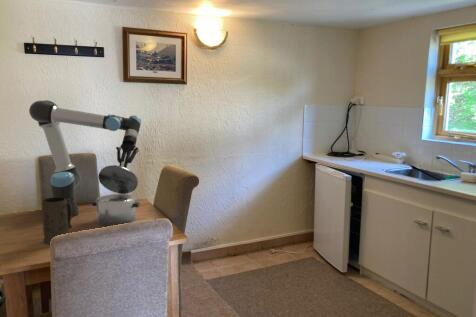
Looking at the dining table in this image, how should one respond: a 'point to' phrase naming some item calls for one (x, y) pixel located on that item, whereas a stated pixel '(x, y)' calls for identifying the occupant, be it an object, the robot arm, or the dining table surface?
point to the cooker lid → (118, 179)
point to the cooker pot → (115, 209)
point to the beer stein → (56, 217)
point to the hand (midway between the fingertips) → (121, 172)
